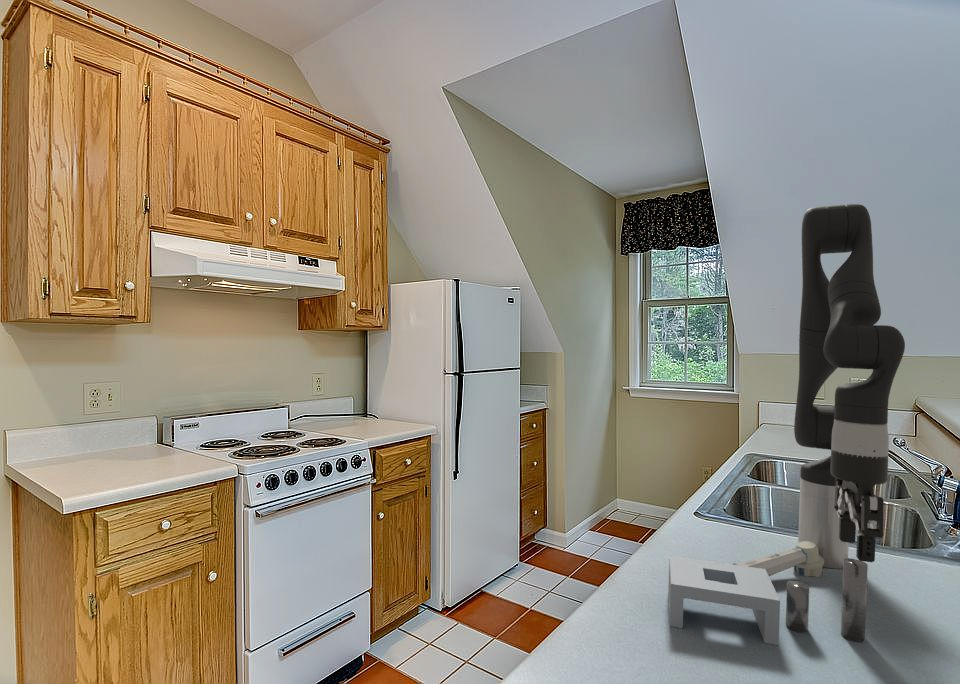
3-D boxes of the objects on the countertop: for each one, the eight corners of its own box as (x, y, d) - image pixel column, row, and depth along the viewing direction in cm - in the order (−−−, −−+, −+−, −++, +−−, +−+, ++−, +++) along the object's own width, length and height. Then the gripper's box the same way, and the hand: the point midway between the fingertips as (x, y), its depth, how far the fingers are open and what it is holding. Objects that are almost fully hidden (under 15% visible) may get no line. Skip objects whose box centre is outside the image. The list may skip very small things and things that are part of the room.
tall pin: (838, 629, 90) (840, 557, 90) (860, 633, 89) (863, 560, 89) (844, 639, 87) (847, 565, 87) (868, 643, 86) (870, 568, 86)
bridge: (668, 593, 101) (669, 555, 101) (764, 608, 96) (765, 569, 96) (669, 625, 90) (670, 583, 90) (778, 645, 85) (780, 600, 85)
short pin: (783, 620, 92) (785, 579, 92) (805, 624, 91) (806, 582, 91) (788, 630, 89) (789, 587, 89) (810, 634, 88) (811, 591, 88)
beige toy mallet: (714, 564, 106) (804, 531, 115) (716, 597, 106) (806, 562, 116) (736, 575, 101) (829, 540, 110) (738, 610, 101) (830, 572, 111)
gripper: (906, 461, 80) (902, 572, 80) (870, 444, 93) (866, 538, 93) (846, 456, 82) (842, 564, 82) (819, 440, 95) (816, 532, 96)
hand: (855, 550), depth 88 cm, fingers open, 8 cm apart
